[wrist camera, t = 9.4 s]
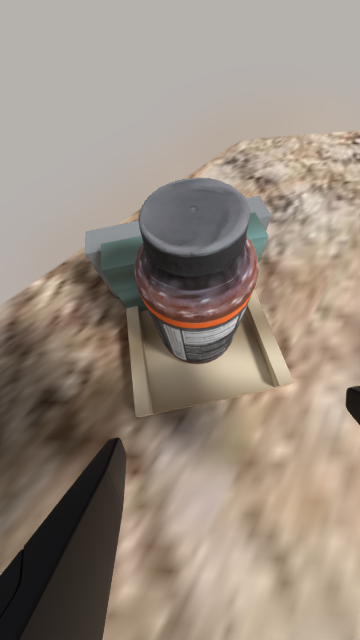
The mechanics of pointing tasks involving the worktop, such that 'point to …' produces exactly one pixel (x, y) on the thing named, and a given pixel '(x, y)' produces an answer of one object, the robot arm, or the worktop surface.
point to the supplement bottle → (196, 266)
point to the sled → (181, 377)
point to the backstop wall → (133, 230)
